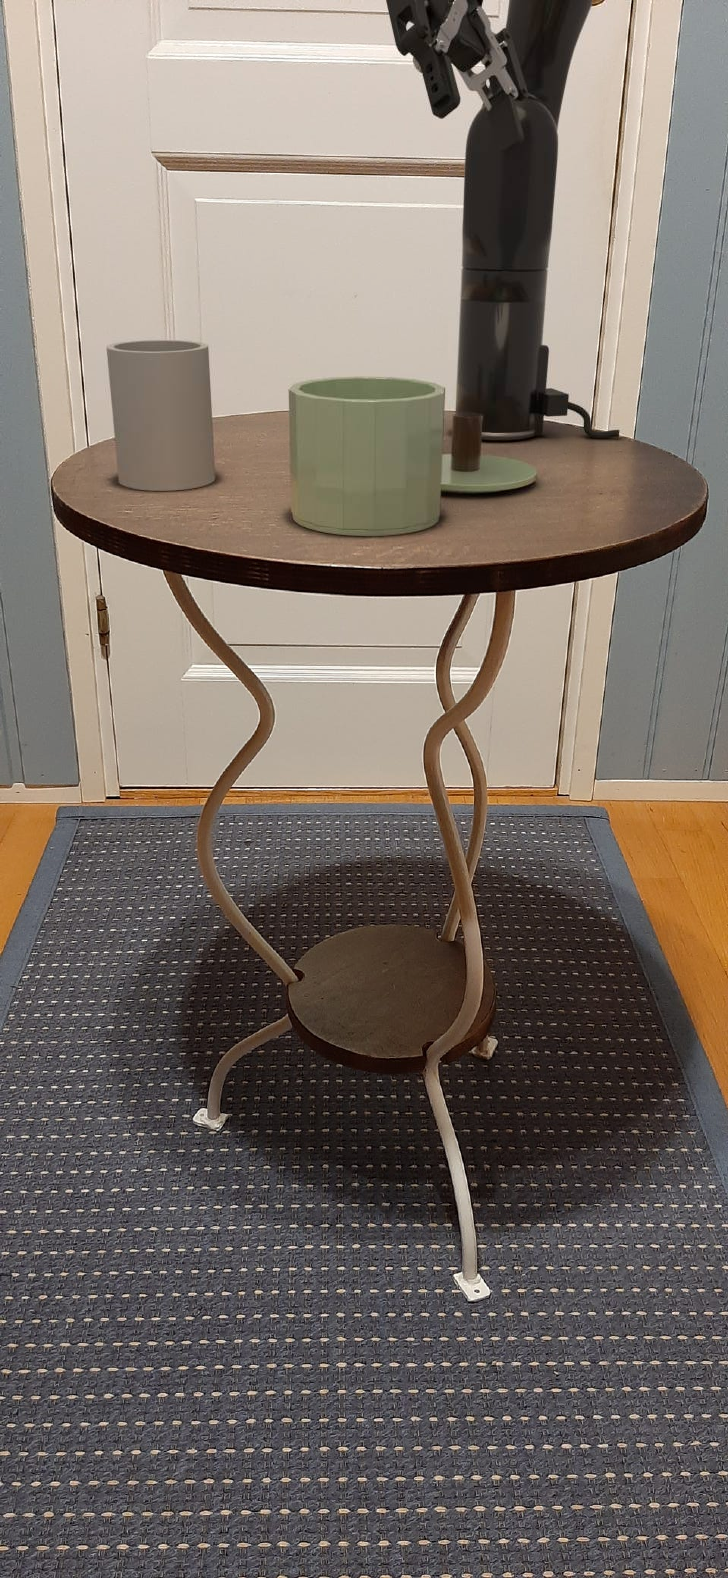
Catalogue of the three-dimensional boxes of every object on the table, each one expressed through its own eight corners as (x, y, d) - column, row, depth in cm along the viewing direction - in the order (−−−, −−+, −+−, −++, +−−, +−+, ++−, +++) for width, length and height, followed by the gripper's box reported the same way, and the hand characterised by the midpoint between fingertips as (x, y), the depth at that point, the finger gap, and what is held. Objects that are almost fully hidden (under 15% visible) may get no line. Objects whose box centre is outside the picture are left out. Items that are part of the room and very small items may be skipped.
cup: (121, 492, 105) (108, 353, 99) (116, 471, 113) (104, 341, 107) (220, 488, 107) (213, 351, 101) (209, 467, 115) (202, 339, 109)
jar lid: (502, 462, 118) (505, 399, 115) (560, 493, 106) (566, 424, 103) (375, 470, 114) (376, 405, 111) (421, 502, 103) (424, 431, 100)
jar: (411, 494, 105) (414, 374, 100) (461, 530, 95) (468, 397, 90) (277, 503, 102) (274, 379, 97) (314, 541, 91) (312, 404, 87)
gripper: (409, -144, 82) (464, 65, 81) (519, -55, 93) (569, 131, 92) (336, -69, 87) (386, 129, 86) (448, 8, 98) (495, 185, 97)
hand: (481, 130), depth 89 cm, fingers open, 8 cm apart
